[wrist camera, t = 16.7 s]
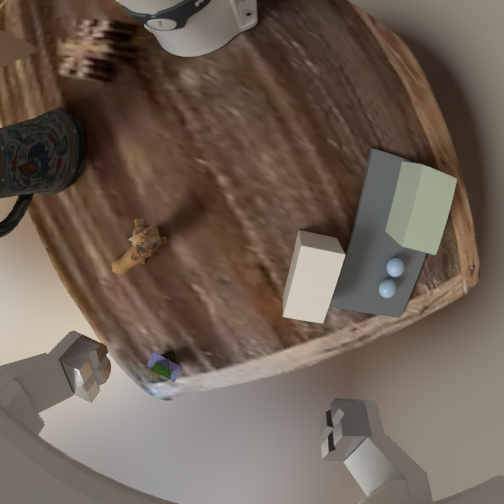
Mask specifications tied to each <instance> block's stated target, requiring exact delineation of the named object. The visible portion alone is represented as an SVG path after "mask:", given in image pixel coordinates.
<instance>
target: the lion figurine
mask: <svg viewBox="0 0 504 504" xmlns="http://www.w3.org/2000/svg"><path fill="white" fill-rule="evenodd" d="M134 222H135V229H134V230H133V235H132V237H130V239H129V240H130V241H132V246H131V247H130V248H129V249H128V250H127V251H126V252H125V253H122V254H121V255H118V256H117V257H116V258H115V259H114V261H113V263H112V268H113V269H112V271H113V272H114V273H117V274H119V275H122V274H126V273H128V272H130V271H131V270H132V269H134V267H135V266H137V265H139V264H144V263H145V262H146V260H145V259H146V257H150V256H153V255H154V254H155V253H156V252H157V250H158V249H159V248H160V246H161V245H162V244H165V243H166V242H167V239H166V237H164V236H163V237H161V236H159V231H158V228H157V227H156V225H154V224H151V225H149V226H148V225H147V223H146V221H145V220H143V219H135V221H134Z"/></svg>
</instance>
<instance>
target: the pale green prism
mask: <svg viewBox="0 0 504 504" xmlns="http://www.w3.org/2000/svg"><path fill="white" fill-rule="evenodd" d="M456 182H457V178H454V177H452V176H450V175H447V174H445V173H443V172H440V171H438V170H435V169H433V168H431V167H428V166H425V165H423V164H416V163H410V162H403V161H402V164H401V169H400V173H399V178H398V182H397V187H396V191H395V195H394V199H393V203H392V207H391V211H390V215H389V218H388V222H387V225H386V229H385V231H386V232H387V233H388V234H389V235H390V236H391V237H392V238H393V239H394V240H395V241H396V242H398V243H399V244H400V245H401V246H402V247H406V248H410V249H414V250H418V251H422V252H426V253H429V254H433V255H436V253H437V250H438V247H439V244H440V241H441V238H442V235H443V232H444V228H445V225H446V222H447V218H448V215H449V211H450V207H451V203H452V199H453V195H454V191H455V187H456Z"/></svg>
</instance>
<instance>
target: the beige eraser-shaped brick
mask: <svg viewBox="0 0 504 504" xmlns="http://www.w3.org/2000/svg"><path fill="white" fill-rule="evenodd" d="M344 258H345V253H344V251H343V249H342V247H341V245H340V243H339V241H338V240H337V238H335V237H330V236H325V235H320V234H316V233H311V232H306V231H301V230H299V231H298V236H297V240H296V245H295V249H294V253H293V258H292V262H291V266H290V270H289V274H288V278H287V282H286V286H285V290H284V303H283V317H287V318H293V319H298V320H304V321H310V322H316V323H322V324H323V322H324V319H325V316H326V313H327V311H328V308H329V305H330V302H331V299H332V296H333V293H334V290H335V287H336V284H337V281H338V278H339V274H340V271H341V268H342V265H343V261H344Z"/></svg>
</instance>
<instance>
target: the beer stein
mask: <svg viewBox="0 0 504 504" xmlns="http://www.w3.org/2000/svg"><path fill="white" fill-rule="evenodd" d="M85 155H86V138H85V133H84V130H83V127H82V124H81V123H80V122H79V121H78V119H77V118H76V117H75V116H74V115H71V114H68V113H65V112H63V111H60V110H52V111H48V112H46V113H44V114H42V115H41V116H38V117H36V118H33V119H30V120H27V121H24V122H20V123H16V124H13V125H10V126H6V127H3V128H0V198H5V197H11V196H16V195H18V199H17V201H16V203H15V205H14V207H13V209H12V211H11V212H10V213H9V215H8V216H7V217H6V218H5V219H4V220H3V221H2V222H0V237H3V236H5V235H7V234H9V233H10V232H11V231H12V230H13V229H14V228H15V227H16V226H17V225H18V223H19V222H20V220H21V219H22V217H23V216H24V214H25V212H26V210H27V209H28V207H29V204H30V202H31V200H32V197H33V194H34V193H42V194H45V195H54V194H57V193H59V192H61V191H63V190H64V189H66V188H67V187H69V186H70V185H72V184H73V183H74V182H75V181H76V179H77V177H78V176H79V174H80V173H81V171H82V168H83V164H84V161H85Z"/></svg>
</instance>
